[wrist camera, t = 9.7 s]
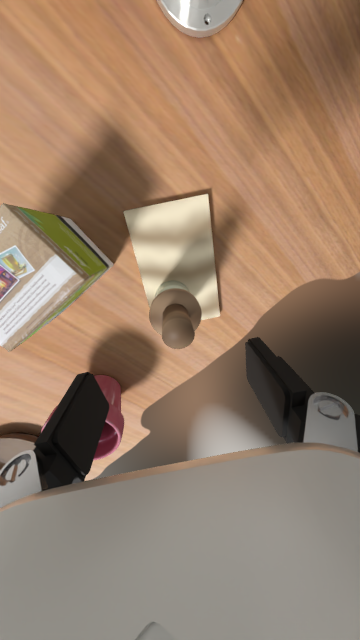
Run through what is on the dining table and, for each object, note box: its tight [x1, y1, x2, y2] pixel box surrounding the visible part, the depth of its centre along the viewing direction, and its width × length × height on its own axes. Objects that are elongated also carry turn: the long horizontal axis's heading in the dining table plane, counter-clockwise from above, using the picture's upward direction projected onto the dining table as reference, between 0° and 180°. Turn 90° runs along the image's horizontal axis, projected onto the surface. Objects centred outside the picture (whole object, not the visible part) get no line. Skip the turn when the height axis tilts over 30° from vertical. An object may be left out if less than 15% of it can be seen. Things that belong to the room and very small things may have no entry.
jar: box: [155, 280, 189, 297], centre depth 32 cm, size 7×7×8 cm
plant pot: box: [41, 375, 124, 460], centre depth 40 cm, size 14×14×13 cm
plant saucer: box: [0, 433, 38, 470], centre depth 51 cm, size 21×21×3 cm
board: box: [123, 194, 220, 320], centre depth 34 cm, size 22×14×1 cm, turn 10°
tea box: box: [0, 203, 114, 352], centre depth 27 cm, size 15×10×15 cm, turn 129°
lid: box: [149, 288, 202, 349], centre depth 25 cm, size 8×8×7 cm
